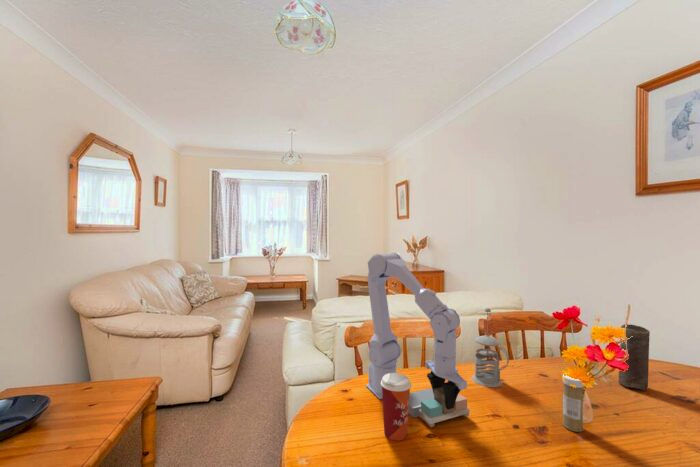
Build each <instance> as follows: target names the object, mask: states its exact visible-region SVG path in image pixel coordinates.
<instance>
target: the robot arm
mask: <svg viewBox="0 0 700 467" xmlns="http://www.w3.org/2000/svg"><path fill="white" fill-rule="evenodd" d="M367 269H368V274H367V286H368V295H369V301H370V302H369V303H370V308H371V309H370V310H371V316H372V326H373V332H374V334H372V336H371V337H370V339H369V342H368V343H369V344H368V345H369V348H368V359H369V360H370V363H369V365H368V383H367V384H365V386H366V387H367V388H368V389H369V391H371V392H372V393H373V394H374V395H375V396H376V397H377V398H378V400H383V398H382V386H381V380H382V378H383V376H384V375H386V374H389V373H397V363H398V359H399V358H400V356H401V353H402V349H401V346H400V343H399V342H398V336H397V335H396V334H395V333H394V332H392V326H391V319H390V313H389V304H388V299H387V289H386V282H387V281H388V280H389V279H390V277H393V278H396V279H398V280H399V281H400V283H402V284H403V285H404V286H405V287H406V288H407V289H408V291H409V292H411V293H412V294H413V296H414V302H415V304H416V305H417V306H418V307H419V309H420V310H421V311H422V312H423V313H424V314H425V315H426V317H427V318H428V319H429V320H430V321H429V324H430V327H431V329H432V332H433V338H434V339H433V341H434V342H433V360H431V359H429V360H425V363H424V364H425V365H424V367H425V368H426V369H427V370H428V369H429V370H430V372H428V373H427V374H426V377H427V379H428V381H429V383H430V386H431V388H432V389H433V393H434V389H436V388H440V387H443V390H444V393H445V405H446V409H448V410H449V409H452V408H454V405H455V401H456V398H457V396H458V394H460V392H461V391H463V390H466V389H467V388H468V381H467V380H465V379H464V378H463V377H462V376H461V375H460V374H459V373H458V371H459V369H458V368H457V367H456V365H457V359H456V358H457V329H458V327H459V326H460V324H461V323H460V322H461V318H460V315H459V314H458V312H457V311H456V310H455V309H454V308H450V307H448V306H447V305H446V304H444V303H443V302H442V300H440V298H439V297H438V296H437V295H436V294H437V293H436V291H435V290H431V288H424V286H423V285H422V284H421V283H420V281H419V280H418V279H417V278H416V277H415V275H414V274H413V273H412V271H411V270H410V269H409V268H408V267H407V264H406V261H405V259H403V258H401V256H400V255H399V254H398V253H396V252H392V253H383V254H379V253H375V254H373V255H372V256H371V258H370V259H369V260H368V262H367Z"/></svg>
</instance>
